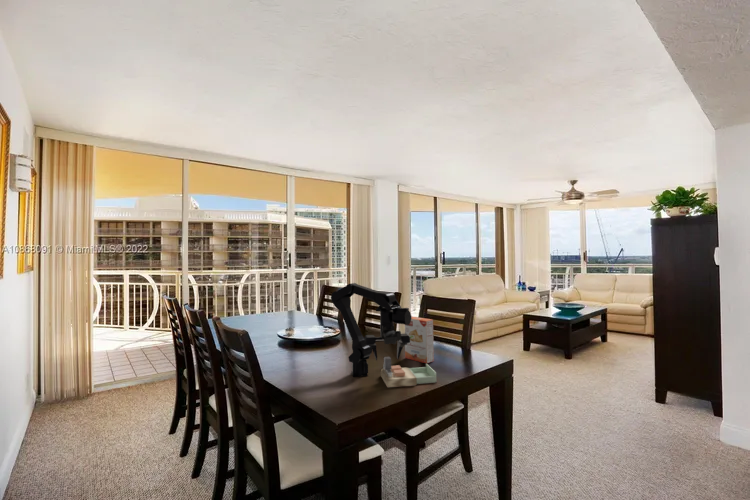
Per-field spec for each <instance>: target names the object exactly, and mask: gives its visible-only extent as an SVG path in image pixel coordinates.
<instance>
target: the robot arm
mask: <svg viewBox="0 0 750 500" xmlns="http://www.w3.org/2000/svg"><path fill="white" fill-rule="evenodd" d="M354 294H355V295H358V296H360V297H363V298H366V299H369V300H372V301H373V302H374V303H375V304H377V305H378V307H377V308H376V309H375V312H379V320H380V321H379V322H380V323H379V327H380V330H379V331H380V332H379V333H380V334H379V335H380V336H375V335H374V334H367V335H365V336H363V334H362V332H361V330H360V329H361V328H360V327H359V325H358V322H357V319H356V317H355V314H354V313H353V311H352V308H351V302H352V301H351V297H352V296H354ZM330 300H331V303H332V304H333V305H334V307H335V308H336V309H337V310H338V311H339V313H340V315H341V317H342V319H343V321H344V324H345V327H346V328H347V331H348V333H349V336H350V338H351V341H352V342H351V343H352V344H351V349H352V353H351V354H350V355H349V356H348V361H349V363H351V376H352V377H353V378H357V377H368V375H369V374H368V373H369V362H368V360H369V359H370V357H371V355H372V352H373V355H374V358H375V361H378V351H377V344H376V342H378V343H379V342H383V344H385V345H389V344H390V345H391V344H393V345H396V344H397V346H396V348H397V349H396V358H397V360H399V359H400V356H401V353H402V350H403V348H405V345H407V343H410V337H409V336H408V335H407V334H405V333H402V332H401V331H400V330H395V324H397V325H404V326H405V325H409V324H410V322H411V316H412V313H411V311H410V309H409V307H402V306H401V304H400V303H399V302H398V300H397V298H396V295H395V294H394V292H392V291H382V290H381V291H380V290H379V291H378V290H375V289H374V288H373V289H372V288H370V287H367V286H363V285H360V284H358V283H357V282H356V283H355V282H352V283H351V282H350V283H348V284H347V285H345V286H344V287H341V288H340V289H338V290H336V291H333V292H332V293H331V296H330Z"/></svg>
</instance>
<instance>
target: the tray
mask: <svg viewBox="0 0 750 500" xmlns="http://www.w3.org/2000/svg"><path fill="white" fill-rule="evenodd" d="M408 368H409V370H410V371H411V372H412V373H413V374H414V376H415V377H416V385H419V384H432V383H433V384H435V383H437V380H438V379H437V378H438V377H437V371H436V370H434V369H433V368H432V367H431V366H430V365H429V363H427V364H426V363H425V366H422V367H419V366H418V367H408Z"/></svg>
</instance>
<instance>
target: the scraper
mask: <svg viewBox="0 0 750 500" xmlns="http://www.w3.org/2000/svg"><path fill="white" fill-rule="evenodd" d="M391 366H392V358H391V356H383V366H382V367H383V368H382V369H384V371H385V373H386V374H387V376H388V378H390V377H392V372H391V370H390V369H391Z"/></svg>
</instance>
